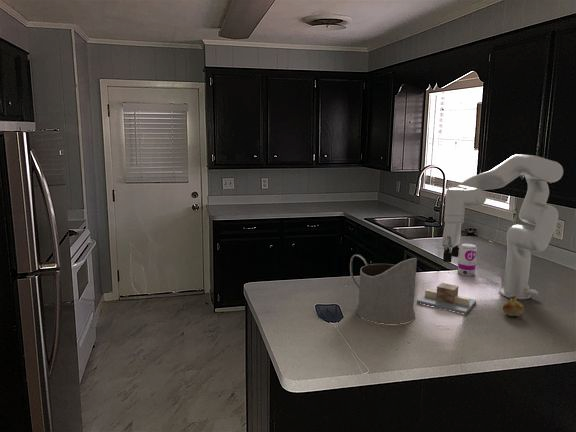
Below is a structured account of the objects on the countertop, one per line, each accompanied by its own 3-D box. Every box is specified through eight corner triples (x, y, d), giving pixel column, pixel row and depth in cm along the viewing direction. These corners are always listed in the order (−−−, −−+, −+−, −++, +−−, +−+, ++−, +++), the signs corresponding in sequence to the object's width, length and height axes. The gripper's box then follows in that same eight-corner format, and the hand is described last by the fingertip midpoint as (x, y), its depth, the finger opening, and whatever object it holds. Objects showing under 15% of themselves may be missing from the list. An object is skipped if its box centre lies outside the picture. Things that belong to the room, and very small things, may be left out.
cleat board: (475, 303, 200) (476, 294, 200) (465, 315, 188) (466, 305, 187) (429, 293, 212) (430, 284, 211) (416, 303, 199) (417, 294, 198)
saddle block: (457, 299, 200) (458, 286, 199) (452, 304, 195) (454, 290, 194) (440, 296, 204) (441, 282, 203) (435, 300, 199) (437, 286, 198)
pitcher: (388, 331, 172) (392, 264, 167) (329, 304, 196) (331, 245, 191) (427, 316, 186) (432, 254, 181) (367, 293, 210) (370, 238, 205)
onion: (496, 313, 190) (498, 294, 188) (512, 311, 193) (514, 292, 191) (511, 320, 183) (514, 301, 181) (527, 318, 186) (529, 298, 184)
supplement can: (477, 276, 237) (479, 247, 234) (460, 276, 237) (463, 246, 234) (471, 271, 245) (474, 243, 242) (455, 271, 245) (457, 242, 242)
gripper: (451, 214, 202) (448, 253, 205) (437, 220, 188) (434, 262, 191) (469, 216, 198) (465, 256, 201) (457, 223, 184) (453, 265, 187)
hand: (450, 259), depth 196 cm, fingers open, 9 cm apart
